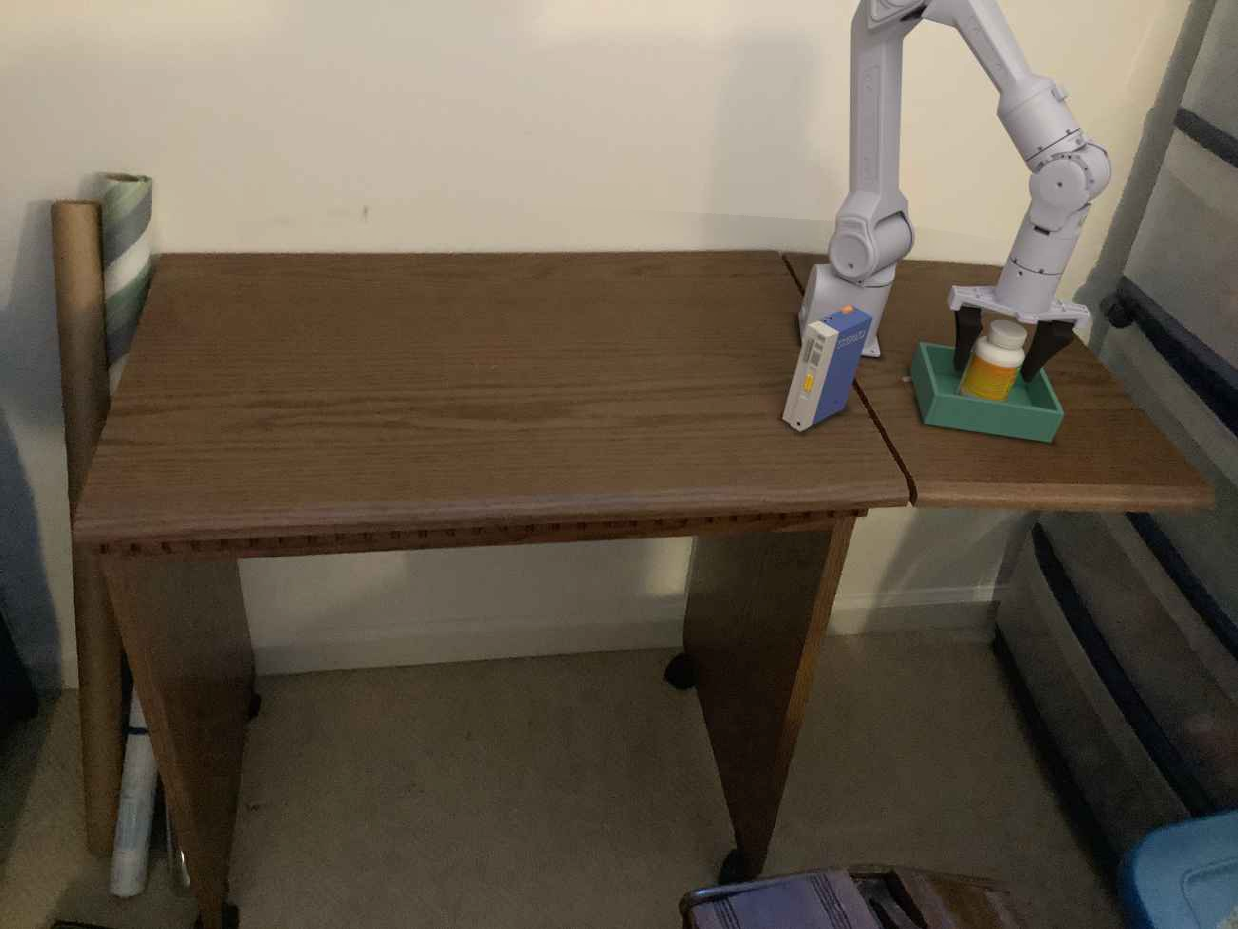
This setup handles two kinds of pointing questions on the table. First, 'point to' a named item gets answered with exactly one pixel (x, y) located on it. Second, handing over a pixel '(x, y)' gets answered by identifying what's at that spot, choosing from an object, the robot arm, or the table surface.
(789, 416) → the walkman
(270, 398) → the table surface
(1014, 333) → the supplement bottle
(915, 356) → the tray
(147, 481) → the table surface
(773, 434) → the table surface
